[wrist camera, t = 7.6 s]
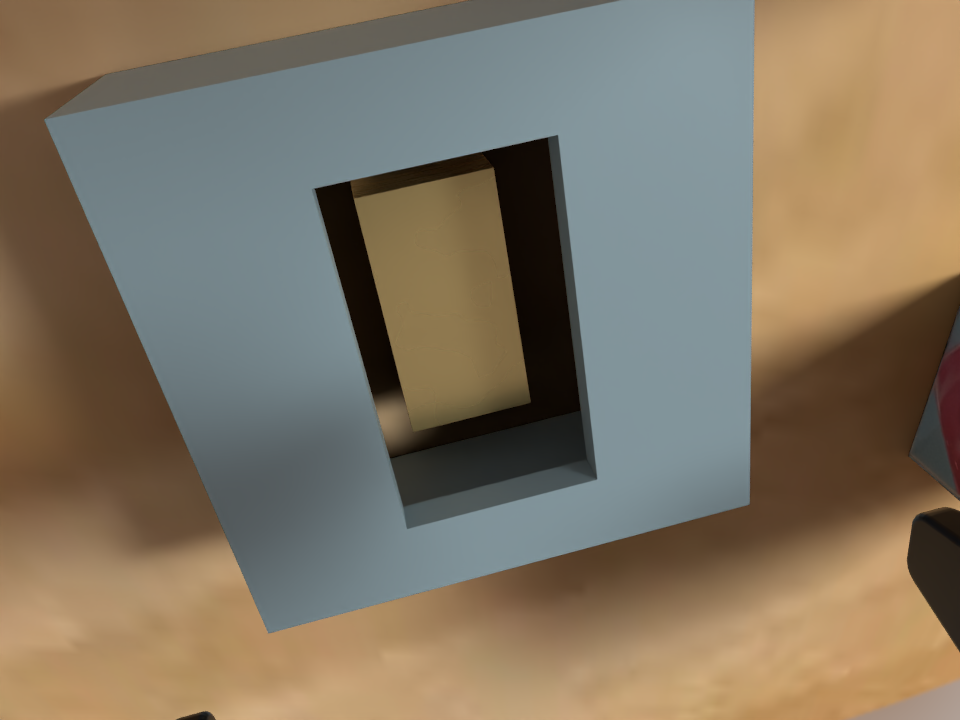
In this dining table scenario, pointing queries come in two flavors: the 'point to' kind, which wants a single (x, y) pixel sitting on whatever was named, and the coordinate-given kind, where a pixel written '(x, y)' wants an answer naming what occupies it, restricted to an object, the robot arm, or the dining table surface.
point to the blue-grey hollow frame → (324, 313)
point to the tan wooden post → (444, 288)
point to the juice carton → (942, 420)
